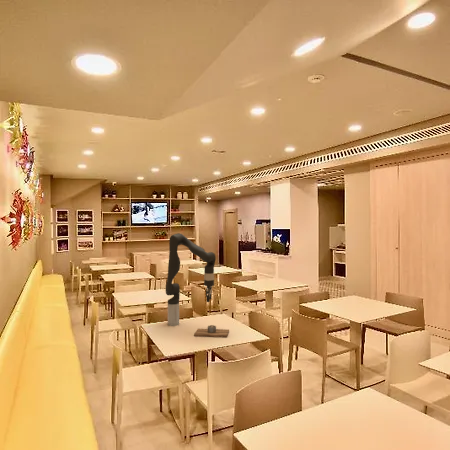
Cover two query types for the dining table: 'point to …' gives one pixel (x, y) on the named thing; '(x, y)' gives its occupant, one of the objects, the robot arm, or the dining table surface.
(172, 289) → the robot arm
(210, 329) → the steel ring
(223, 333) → the post base
